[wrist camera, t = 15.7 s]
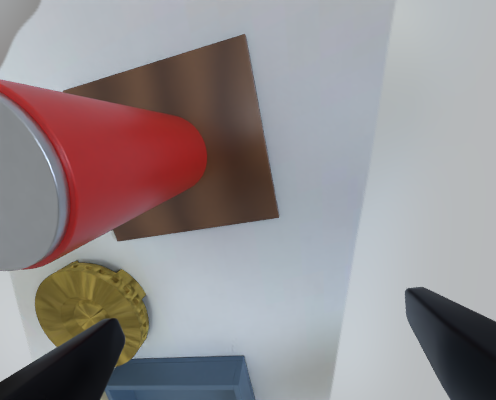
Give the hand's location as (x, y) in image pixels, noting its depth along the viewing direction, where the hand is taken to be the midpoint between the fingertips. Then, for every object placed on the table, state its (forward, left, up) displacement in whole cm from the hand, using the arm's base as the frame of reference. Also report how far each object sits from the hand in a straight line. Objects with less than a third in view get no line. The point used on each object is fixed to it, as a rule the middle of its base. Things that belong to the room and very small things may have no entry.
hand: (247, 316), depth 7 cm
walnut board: (+8, -6, -13) cm, 16 cm away
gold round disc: (+21, +9, -14) cm, 26 cm away
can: (+8, -6, -13) cm, 16 cm away
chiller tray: (+14, +22, -13) cm, 29 cm away
